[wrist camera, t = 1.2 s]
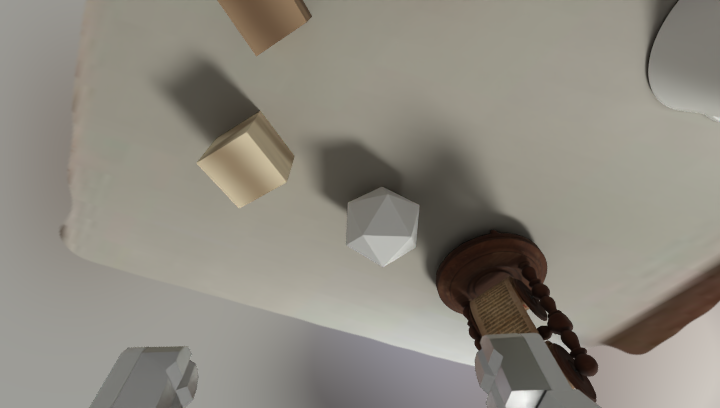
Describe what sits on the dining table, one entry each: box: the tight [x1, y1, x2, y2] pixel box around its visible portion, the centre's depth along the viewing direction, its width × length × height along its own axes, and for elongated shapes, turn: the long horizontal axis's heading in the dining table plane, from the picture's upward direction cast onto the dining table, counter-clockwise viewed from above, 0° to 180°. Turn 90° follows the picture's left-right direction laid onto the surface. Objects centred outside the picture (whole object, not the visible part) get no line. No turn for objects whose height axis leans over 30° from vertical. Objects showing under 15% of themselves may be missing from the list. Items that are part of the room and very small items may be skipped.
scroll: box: [436, 230, 598, 402], centre depth 41 cm, size 15×15×20 cm
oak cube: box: [197, 111, 294, 208], centre depth 36 cm, size 6×6×6 cm
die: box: [346, 187, 420, 267], centre depth 40 cm, size 8×9×10 cm
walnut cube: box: [218, 0, 312, 56], centre depth 29 cm, size 5×5×5 cm
